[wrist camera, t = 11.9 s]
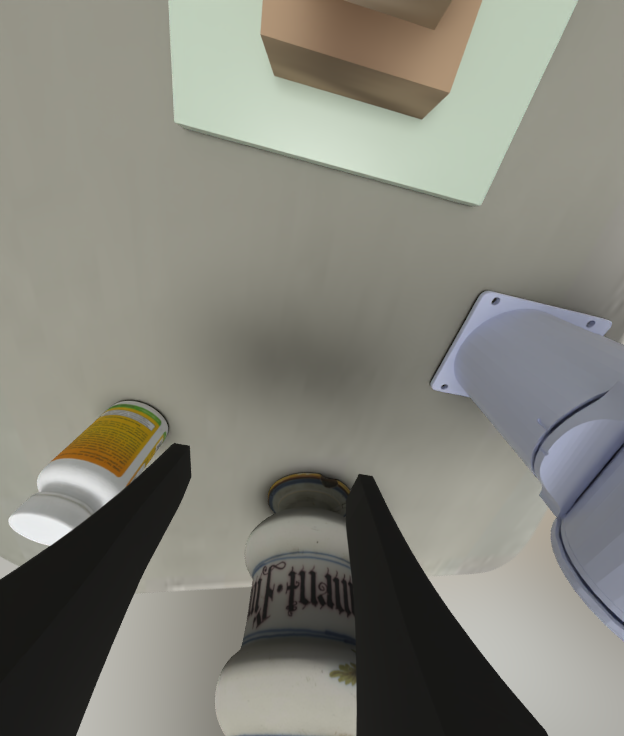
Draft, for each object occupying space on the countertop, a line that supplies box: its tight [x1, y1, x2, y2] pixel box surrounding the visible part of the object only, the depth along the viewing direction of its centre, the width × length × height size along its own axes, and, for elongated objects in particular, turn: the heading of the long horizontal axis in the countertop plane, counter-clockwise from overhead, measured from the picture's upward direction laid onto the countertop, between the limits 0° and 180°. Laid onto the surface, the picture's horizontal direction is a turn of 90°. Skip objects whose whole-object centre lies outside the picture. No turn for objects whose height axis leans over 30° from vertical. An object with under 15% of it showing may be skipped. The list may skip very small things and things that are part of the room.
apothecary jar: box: [215, 473, 357, 736], centre depth 22 cm, size 12×12×18 cm
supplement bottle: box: [9, 401, 168, 546], centre depth 20 cm, size 5×5×10 cm
